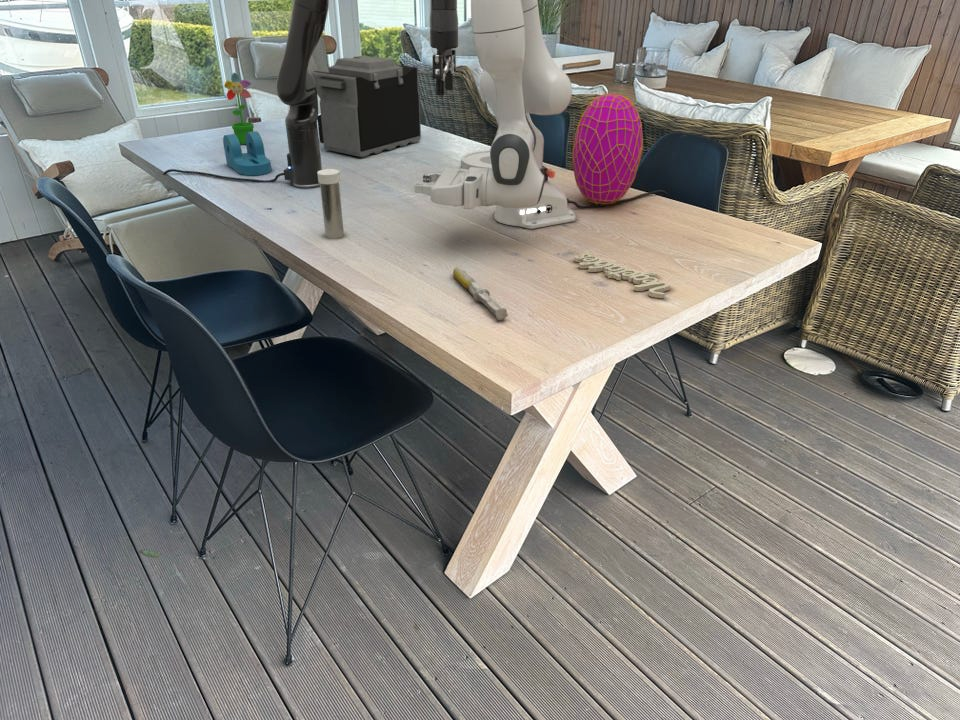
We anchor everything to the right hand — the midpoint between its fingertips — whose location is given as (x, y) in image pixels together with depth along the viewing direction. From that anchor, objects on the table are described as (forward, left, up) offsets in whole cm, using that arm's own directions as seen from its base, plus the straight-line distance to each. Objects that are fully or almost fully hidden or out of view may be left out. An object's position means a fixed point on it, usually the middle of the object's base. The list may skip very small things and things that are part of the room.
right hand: (419, 182), depth 165 cm
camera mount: (+39, -81, -15) cm, 91 cm away
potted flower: (+40, -119, -15) cm, 127 cm away
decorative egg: (-58, -16, -15) cm, 62 cm away
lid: (+20, -10, +1) cm, 23 cm away
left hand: (-16, -35, +14) cm, 41 cm away
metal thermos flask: (+20, -10, -15) cm, 27 cm away
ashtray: (-39, -57, -15) cm, 70 cm away
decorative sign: (-39, +34, -15) cm, 54 cm away
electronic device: (-5, -102, -15) cm, 103 cm away
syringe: (-4, +35, -15) cm, 39 cm away
